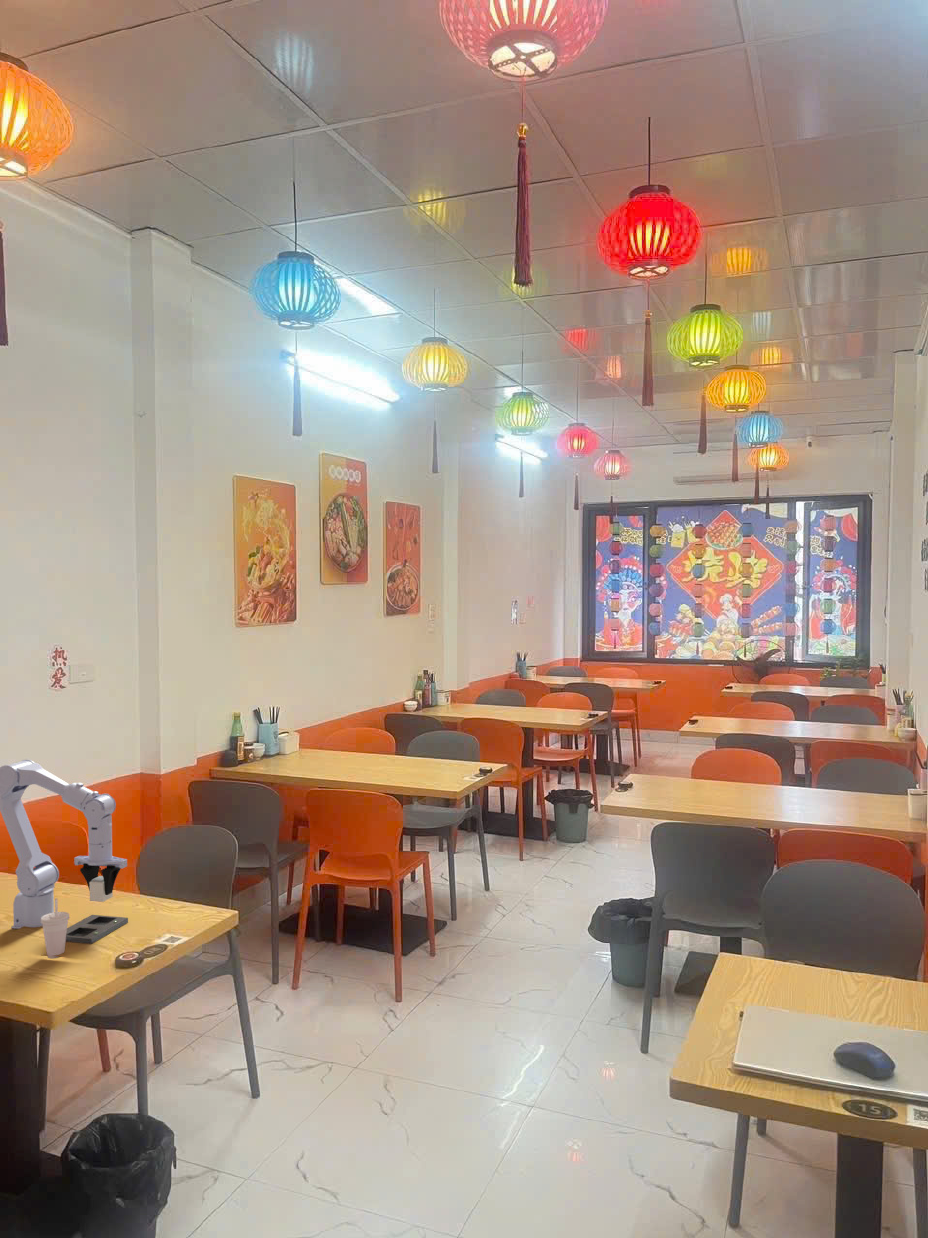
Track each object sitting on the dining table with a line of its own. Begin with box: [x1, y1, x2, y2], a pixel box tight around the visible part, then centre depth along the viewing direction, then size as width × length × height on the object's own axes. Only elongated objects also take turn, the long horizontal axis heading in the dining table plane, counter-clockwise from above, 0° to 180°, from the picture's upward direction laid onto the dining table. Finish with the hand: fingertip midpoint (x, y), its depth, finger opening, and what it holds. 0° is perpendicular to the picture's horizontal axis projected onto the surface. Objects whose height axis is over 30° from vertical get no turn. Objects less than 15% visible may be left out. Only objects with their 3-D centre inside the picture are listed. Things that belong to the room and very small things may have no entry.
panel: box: [65, 914, 129, 945], centre depth 227 cm, size 11×15×2 cm
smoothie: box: [41, 898, 70, 959], centre depth 213 cm, size 6×6×14 cm
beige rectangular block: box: [89, 875, 114, 903], centre depth 230 cm, size 4×4×6 cm
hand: (101, 893), depth 230 cm, fingers closed on beige rectangular block, 4 cm apart
